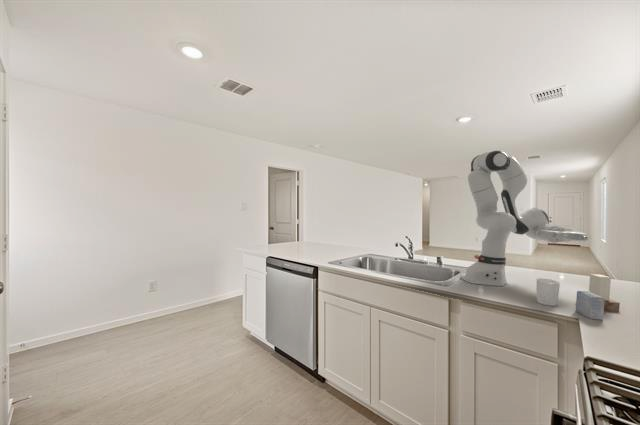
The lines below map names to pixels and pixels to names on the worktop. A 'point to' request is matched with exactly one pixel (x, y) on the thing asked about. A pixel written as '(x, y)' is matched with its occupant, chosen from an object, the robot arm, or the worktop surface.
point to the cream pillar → (600, 285)
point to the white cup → (547, 291)
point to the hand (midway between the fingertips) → (576, 237)
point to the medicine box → (590, 305)
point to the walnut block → (611, 305)
